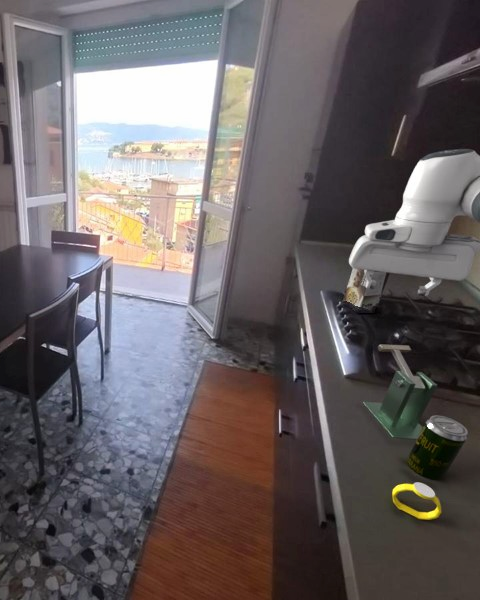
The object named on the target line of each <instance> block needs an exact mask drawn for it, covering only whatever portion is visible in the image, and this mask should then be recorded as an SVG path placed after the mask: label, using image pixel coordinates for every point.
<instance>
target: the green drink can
mask: <svg viewBox="0 0 480 600" xmlns="http://www.w3.org/2000/svg"><path fill="white" fill-rule="evenodd" d="M422 427H423V429H422V431H421V433H420V435H419V437H418V439H417V440H416V439H415V440H416V441H415V442H414V444H413V446H412V449H411V450H410V452H409V454H408V456H407V458H406V465H407V466H408V467H409V469H410V470H411V471H413V472H414V473H415V474H417V475H418V476H420V477H422V478H424V479H426V480H427V479H428V480H430V481H437V482H438V481H442V480H443V479H444V478H445V476H446V474H447V473H448V472H449V469H450V468H451V467H452V465H453V463H454V461H455V459H456V457H457V456H458V454H459V453H460V452H461V449H462V447H463V446H464V444H465V443H466V441H467V439H468V433H469V432H468V429H467V428H466V426H464V425H463V424H462V423H460V422H458V421H456V420H454V419H453V418H450V417H447V416H443V415H436V414H435V415H431V416H430V417H429V418H428V419H427V420H426V421H425V423H424V425H423V426H422Z"/></svg>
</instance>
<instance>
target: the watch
mask: <svg viewBox="0 0 480 600" xmlns="http://www.w3.org/2000/svg"><path fill="white" fill-rule="evenodd" d="M407 491H409V492H413V493H415V494H416V495H417V496H419V497H420V498H421V499H424V500H427V501H432V502H433V503H434V505H436V508H435V509H434V510H432V511H428V512H425V511H418V510H416V509H414V508H412V507H410V506H407V505H406V504H404V503H401V502H400V500H399V499H398V498H397V495H398V494H400V493H401V492H407ZM392 501H393V502H392V503H393V504H394V505H395V507H396V508H397V509H398V510H401V511H403V512H404V513H406V514H409V515H411V516H412V517H415V518H417V519H418V520H425V521H431V520H435V519H438V518H439V517H440V515H441V514H442V505H441V502H440V499H439V497H437V496H436V493H435V491H434V490H433V488H431V487H430V486H428V484H425V483H422V482H418V481H417V482H414V483H401V484H398V485H396V486H394V488H393V489H392Z"/></svg>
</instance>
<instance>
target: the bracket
mask: <svg viewBox="0 0 480 600" xmlns="http://www.w3.org/2000/svg"><path fill="white" fill-rule="evenodd" d="M414 376H419V377H420V379H421V381H422V383H423V384H424V386H425V388H426V389H424V390H423V391H421V392H420V393H412V391H413V389H414V387H415V385H416V384H415V383H414V382H413V381H412V380H411V379H410V378H408V377H407V376H406V375H405V374H404V373H403V372H402V371H401V370H396V371H395V373H394V375H393V378H392V380H391V382H390V385H389V387H388V389H387V391H386V393H385V396H384V398H383V400H382V402H373V401H362V403H363V405H364V406H365V407H366V408H367V409H368V410H369V412H370V413H371V414H372V415H373V416H374V418H375V419H376V420H377V421H378V422H379V424H380V425H381V426H382V427H383V428H384V429H385V430H386V432H387V433H388V434H389V435H390V436H391V437H392V439H402V440H403V439H404V440H417V439H418V437H419V435H420V433H421V431H422V429H423V427H424V426H423V425H421V424H420V423H419V422H420V421H421V418H422V417H423V414H425V411H426V409H427V407H428V405H429V403H430V402H431V399H432V397H433V395H434V393H435V391H436V389H437V387H438V384H437V383H435V382H434V381H433V380H432V379H431V378H430V377H429V376H427V375H426V374H425V373H423V372H422V371H416V373H415V375H414Z"/></svg>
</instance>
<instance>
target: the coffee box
mask: <svg viewBox="0 0 480 600" xmlns="http://www.w3.org/2000/svg"><path fill="white" fill-rule="evenodd" d="M364 271H365V270H363V269H354V268H352V270H351V274H350V277H349V280H348V283H347V286H346V290H345V292H344V296H343V300H342V302H343V301H347V302H350V303H352V304H354V305H355V306H358V307H366V306H377V307H378V306H379V303H380V301H381V298H382V295H383V292H384V291H385V287H386V285H387V282H388V279H389V276H390V274H391V273H388V272H380V271H374V273H373V275H370V277H371V280H375V281H376V285H375V288H374V289H370V288H366V283H367V277H366V275H365V272H364Z"/></svg>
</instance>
